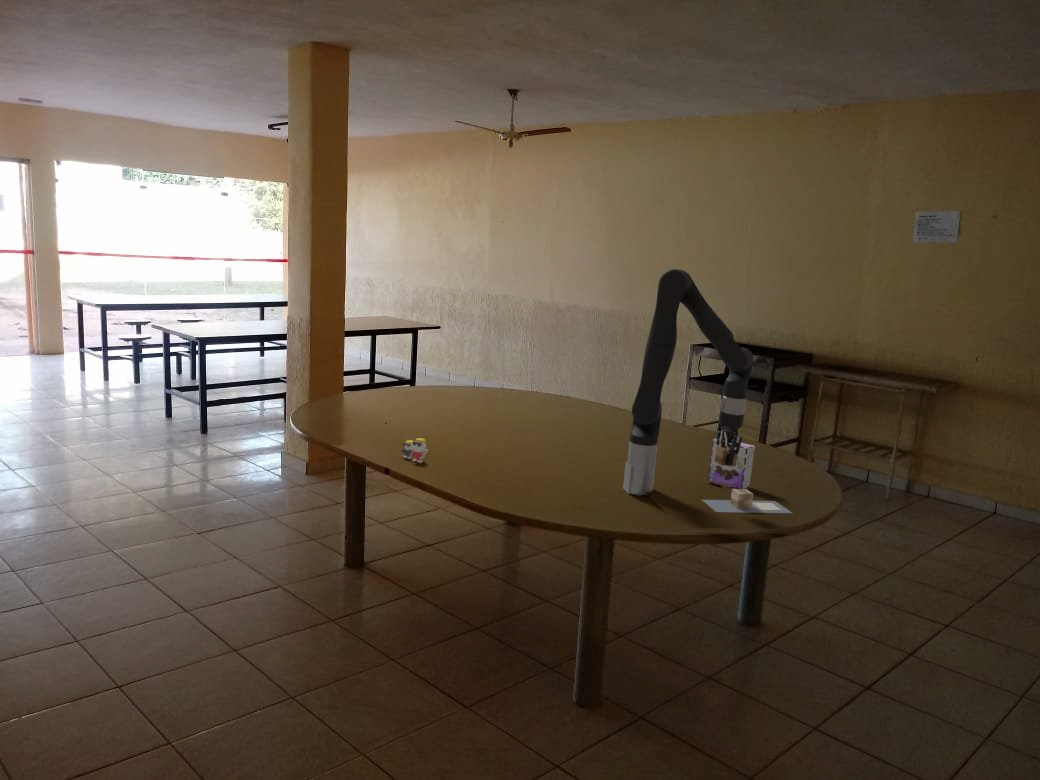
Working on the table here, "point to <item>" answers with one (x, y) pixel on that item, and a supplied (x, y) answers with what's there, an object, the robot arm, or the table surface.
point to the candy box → (733, 468)
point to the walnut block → (723, 456)
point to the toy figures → (418, 450)
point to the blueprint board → (756, 508)
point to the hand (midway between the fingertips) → (725, 462)
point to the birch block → (741, 499)
